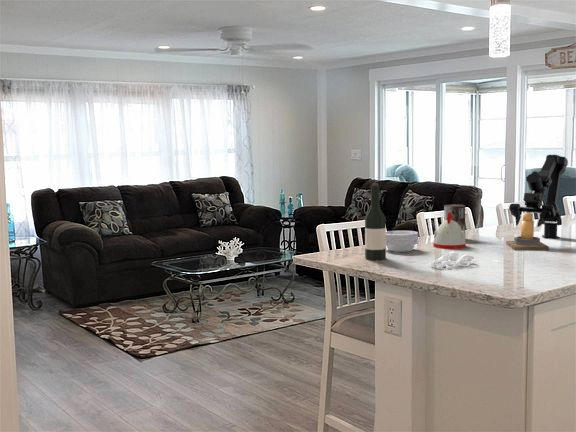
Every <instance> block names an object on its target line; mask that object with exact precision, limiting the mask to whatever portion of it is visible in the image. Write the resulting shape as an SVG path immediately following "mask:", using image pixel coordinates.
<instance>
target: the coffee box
mask: <svg viewBox="0 0 576 432" xmlns="http://www.w3.org/2000/svg"><path fill="white" fill-rule="evenodd" d="M443 207H444V208H443V209H444V211H443V213H444V214H443V216H444V217H443V218H444V219H443V222H444V221H446V220H447V217H448V213H451V215H452V220H453V221H455V222H456V223H457V224H458V225H459V226H460V227H461V229H462V231H464V234H465V235H466V206H465V204H443Z"/></svg>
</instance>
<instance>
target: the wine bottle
mask: <svg viewBox="0 0 576 432" xmlns="http://www.w3.org/2000/svg"><path fill="white" fill-rule="evenodd" d="M386 220H387V217H386V216H385V214H384V212H383V211H382V209H381V206H380V185H379V183H371V185H370V207H369V210H368V211H367V213H366V215H365V217H364V249H365V250H364V253H365V254H364V255H365V256H364V259H366V260H368V261H383V259H384V260H386V259H387V258H386V257H387V256H386V255H387V254H386V253H387V251H386V250H387V249H386V247H387V246H386V232H387V231H386V230H387V229H386V228H387V225H386V224H387V223H386V222H387V221H386Z"/></svg>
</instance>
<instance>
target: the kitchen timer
mask: <svg viewBox="0 0 576 432" xmlns="http://www.w3.org/2000/svg"><path fill="white" fill-rule="evenodd" d="M432 243H433V245H432V246H433V248H438V249H442V250H443V249H445V250H447V249H448V250H456V249H457V250H459V249H464V248H466V247H467V246H466V245H467V243H466V233H465V234H464V231H462V229H461V227H460V226H459V225H458V224H457V223H456V222H455V221H453V220H452V215H451V213H448V217H447V220H446V221H444V220H443V222H442V223H441V224H440V225H439V226H438V227H437V229H436V230H434V234H433V242H432Z"/></svg>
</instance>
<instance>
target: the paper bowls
mask: <svg viewBox="0 0 576 432" xmlns="http://www.w3.org/2000/svg"><path fill="white" fill-rule="evenodd" d="M415 245H419V232H418V231H414V230H388V231H386V247H387V249H388V251H390V252H395V253H407V252H411V251H412V250H414V248H415Z"/></svg>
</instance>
